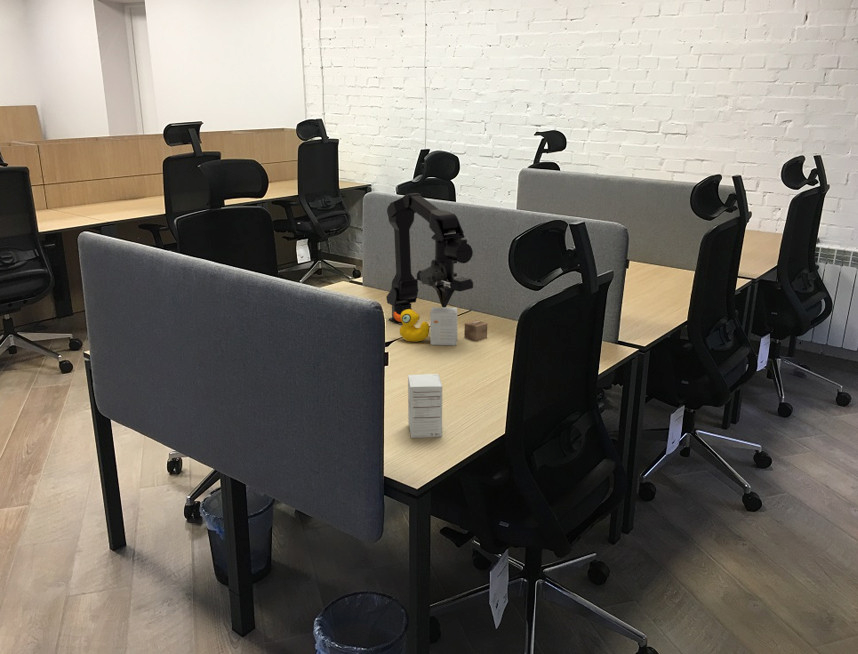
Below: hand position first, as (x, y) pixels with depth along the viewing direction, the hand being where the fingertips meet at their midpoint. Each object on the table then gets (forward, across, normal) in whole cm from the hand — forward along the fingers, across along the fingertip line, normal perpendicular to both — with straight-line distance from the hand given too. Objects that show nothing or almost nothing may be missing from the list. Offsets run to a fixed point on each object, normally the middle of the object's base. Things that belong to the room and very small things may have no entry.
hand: (444, 307), depth 226 cm
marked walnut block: (+11, +4, +10) cm, 16 cm away
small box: (+12, 0, 0) cm, 12 cm away
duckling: (+12, -8, -6) cm, 15 cm away
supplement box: (+11, +40, -46) cm, 62 cm away
